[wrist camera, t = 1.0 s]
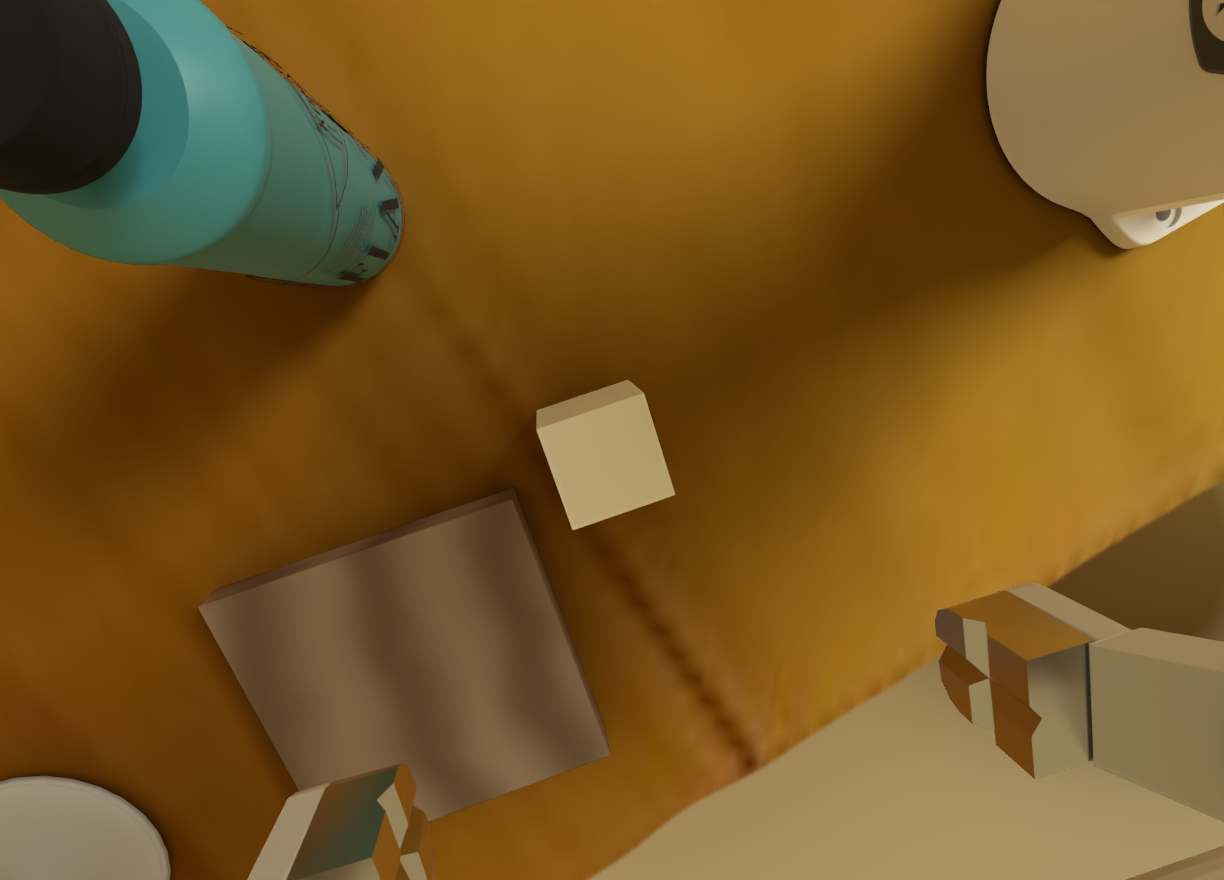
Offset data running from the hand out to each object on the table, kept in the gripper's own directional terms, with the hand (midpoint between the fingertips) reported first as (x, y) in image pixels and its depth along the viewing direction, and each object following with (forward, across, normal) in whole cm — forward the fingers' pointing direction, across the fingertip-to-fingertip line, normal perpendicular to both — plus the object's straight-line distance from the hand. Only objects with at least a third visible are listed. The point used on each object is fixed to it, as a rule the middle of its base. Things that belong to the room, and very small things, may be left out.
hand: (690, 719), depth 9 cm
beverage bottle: (+23, +8, -12) cm, 28 cm away
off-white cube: (+23, -1, +1) cm, 23 cm away
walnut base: (+24, +11, +11) cm, 28 cm away
